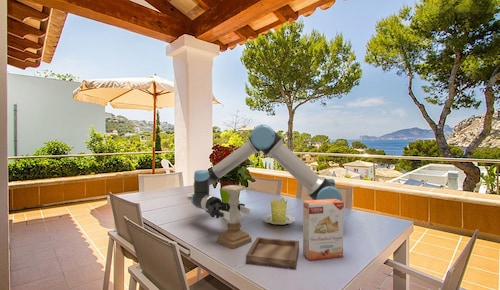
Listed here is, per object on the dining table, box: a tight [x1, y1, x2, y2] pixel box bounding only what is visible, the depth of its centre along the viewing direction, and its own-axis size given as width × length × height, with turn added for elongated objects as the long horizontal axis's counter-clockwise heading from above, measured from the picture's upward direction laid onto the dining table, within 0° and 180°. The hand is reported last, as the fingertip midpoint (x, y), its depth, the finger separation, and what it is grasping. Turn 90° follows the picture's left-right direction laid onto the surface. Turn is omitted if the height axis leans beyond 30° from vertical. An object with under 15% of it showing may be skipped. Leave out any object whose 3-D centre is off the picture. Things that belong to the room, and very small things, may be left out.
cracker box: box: [302, 199, 345, 261], centre depth 96 cm, size 14×6×21 cm, turn 101°
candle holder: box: [216, 184, 253, 250], centre depth 110 cm, size 11×11×24 cm
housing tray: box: [245, 236, 300, 270], centre depth 97 cm, size 17×17×3 cm
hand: (239, 214), depth 107 cm, fingers open, 10 cm apart
